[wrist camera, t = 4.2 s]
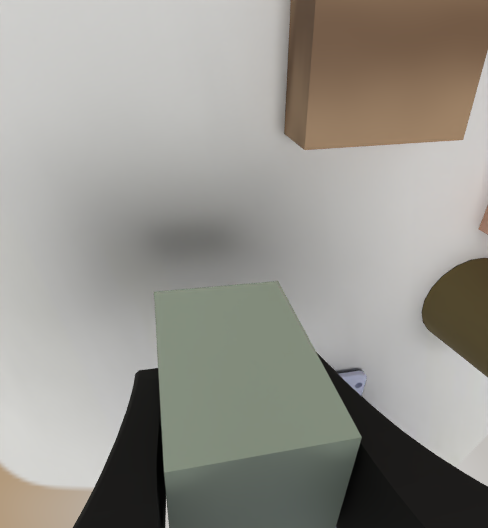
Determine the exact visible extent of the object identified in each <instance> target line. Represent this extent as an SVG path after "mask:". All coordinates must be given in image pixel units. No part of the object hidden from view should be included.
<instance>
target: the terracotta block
mask: <svg viewBox="0 0 488 528" xmlns="http://www.w3.org/2000/svg"><path fill="white" fill-rule="evenodd" d="M479 230H481V231H483V232H484V233H486V234H487V235H488V206H487V209H486V211H485V214H484V216H483V219H482V222H481V224H480V227H479Z"/></svg>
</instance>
